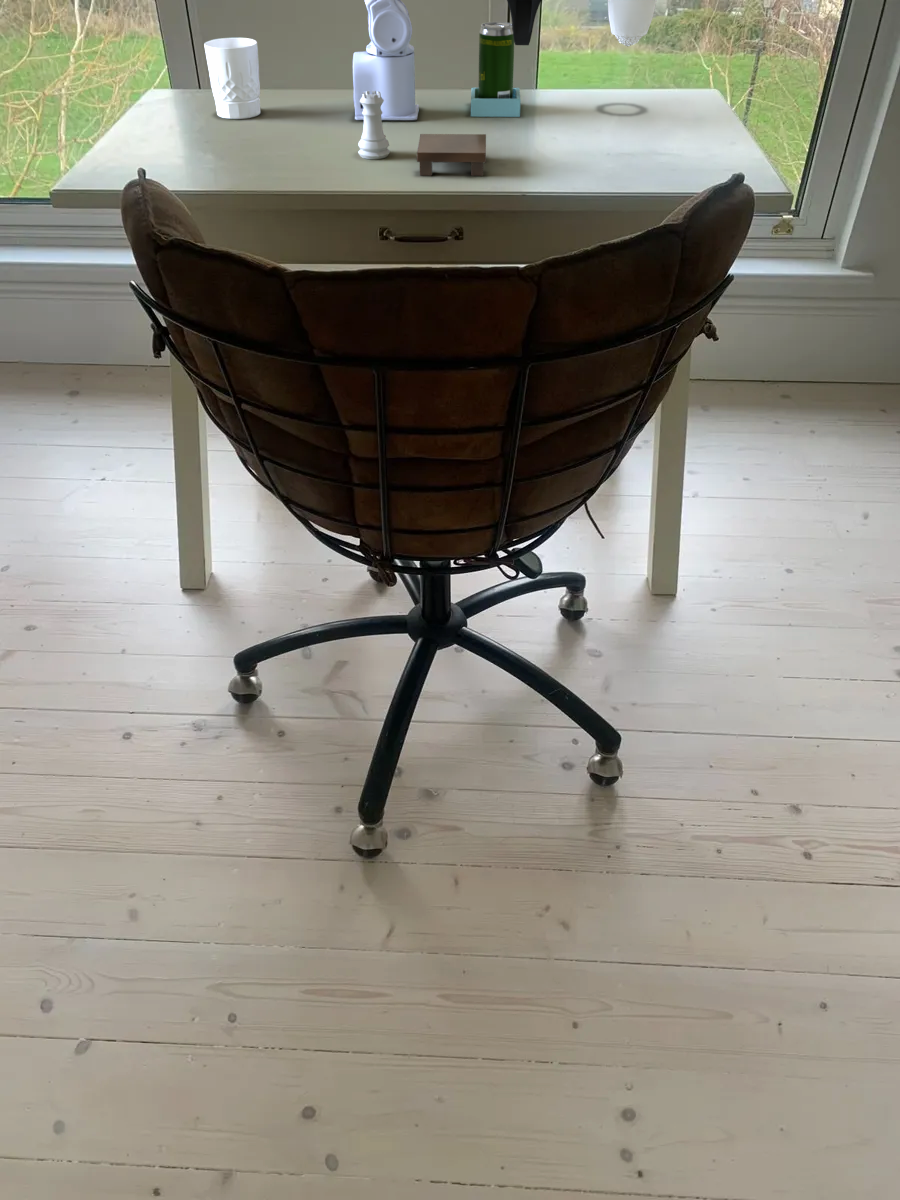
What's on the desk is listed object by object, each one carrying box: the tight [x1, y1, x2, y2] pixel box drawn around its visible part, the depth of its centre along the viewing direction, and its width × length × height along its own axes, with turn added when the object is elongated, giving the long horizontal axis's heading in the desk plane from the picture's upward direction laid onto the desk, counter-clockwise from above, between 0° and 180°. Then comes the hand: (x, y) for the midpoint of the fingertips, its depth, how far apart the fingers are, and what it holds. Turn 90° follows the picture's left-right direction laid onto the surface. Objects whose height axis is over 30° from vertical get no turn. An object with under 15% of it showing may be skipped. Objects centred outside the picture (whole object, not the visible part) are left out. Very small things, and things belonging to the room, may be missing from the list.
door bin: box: [470, 87, 521, 118], centre depth 165 cm, size 8×8×2 cm
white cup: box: [203, 37, 261, 120], centre depth 161 cm, size 8×8×10 cm
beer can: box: [477, 21, 515, 99], centre depth 162 cm, size 5×5×12 cm
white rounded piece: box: [607, 0, 658, 47], centre depth 160 cm, size 7×7×21 cm
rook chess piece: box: [357, 91, 391, 160], centre depth 144 cm, size 4×4×8 cm
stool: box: [416, 133, 487, 177], centre depth 141 cm, size 9×9×3 cm
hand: (521, 39), depth 159 cm, fingers open, 7 cm apart
